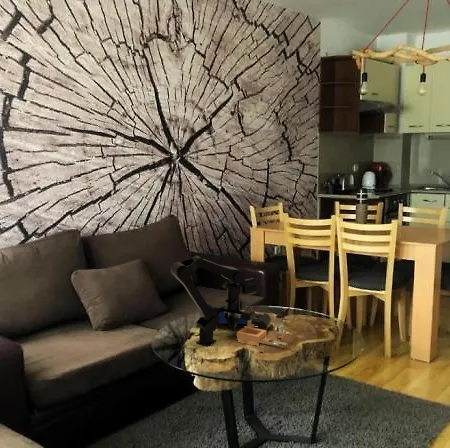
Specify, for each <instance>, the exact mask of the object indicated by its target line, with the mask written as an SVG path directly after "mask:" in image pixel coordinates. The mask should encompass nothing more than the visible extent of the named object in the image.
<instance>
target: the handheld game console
mask: <svg viewBox="0 0 450 448" xmlns="http://www.w3.org/2000/svg"><path fill="white" fill-rule="evenodd" d="M242 311H243V312H244V311H245V310H242ZM219 314H220V315H218V316H219V317H220V321H219V323H218V325H217V327H222V328H223V327H225V328H227V327H230V326H229V324H228V322H227V320H226V319H225V318H224V317H223V316H224V312H220V313H219ZM237 326H247V327H248V320H243V319H242V318H241V319H239V321H238V324H237Z"/></svg>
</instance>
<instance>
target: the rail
mask: <svg viewBox="0 0 450 448" xmlns="http://www.w3.org/2000/svg"><path fill="white" fill-rule="evenodd" d="M277 335H278V336H282V337H283V333H282V332H280V331H279V332H278V331H277V332H276V336H277ZM236 336H237V333H236ZM260 340H262V341H269V342H273V343H278V344H282V345H285V346H286V345H287V346H288V343H287V342H283V341H279V340H274V339H269V338H266V339H265V338H262V339H260ZM259 348H260V349H264V348H265V349H266V346H265V345H264V346H263V345H260V346H258V349H259Z"/></svg>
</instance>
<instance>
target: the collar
mask: <svg viewBox="0 0 450 448" xmlns="http://www.w3.org/2000/svg"><path fill="white" fill-rule="evenodd" d="M251 327H252V326H247V327H242V328H241V329H240V330H238V331H236V334H237V339H242V340H248V341H253V342H259V341H260V339H262V338H265V337H266V338H267V334H268V333H267V330H261V329H256V328H251ZM237 339H236V340H237Z"/></svg>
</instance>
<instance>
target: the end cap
mask: <svg viewBox="0 0 450 448" xmlns="http://www.w3.org/2000/svg"><path fill="white" fill-rule="evenodd" d="M271 320H272V317H271V316H270V314H268V313H267V312H264V313H263V314H260V313H258V314H257V313H256V315H255V317H254V318H253V319H251V320H250V321H251V322H250V324H251V325H253V326H250V327H251V328H256V329H261V330H266V331H267V330H268V327H270V326H269V325H270V324H271ZM255 326H258V327H255Z"/></svg>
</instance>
